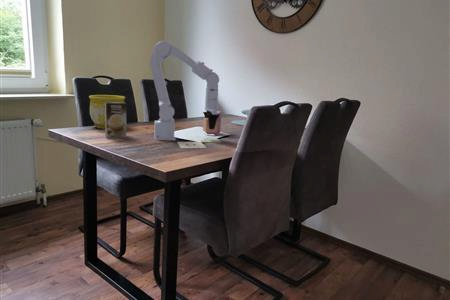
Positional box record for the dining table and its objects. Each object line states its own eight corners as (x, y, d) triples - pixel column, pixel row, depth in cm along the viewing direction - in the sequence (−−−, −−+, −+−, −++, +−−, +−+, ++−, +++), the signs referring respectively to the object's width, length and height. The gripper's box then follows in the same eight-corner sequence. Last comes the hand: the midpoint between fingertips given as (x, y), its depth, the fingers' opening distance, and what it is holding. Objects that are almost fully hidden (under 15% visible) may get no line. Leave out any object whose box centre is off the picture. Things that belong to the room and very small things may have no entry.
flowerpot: (131, 128, 183) (131, 97, 179) (99, 131, 170) (98, 98, 166) (115, 123, 195) (115, 94, 191) (84, 125, 182) (83, 95, 179)
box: (216, 136, 175) (217, 113, 172) (205, 135, 176) (206, 112, 173) (220, 132, 185) (221, 111, 182) (210, 132, 186) (211, 110, 183)
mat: (202, 143, 156) (202, 141, 156) (198, 139, 165) (198, 138, 165) (221, 142, 159) (221, 141, 159) (216, 139, 167) (216, 138, 167)
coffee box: (106, 138, 155) (105, 102, 151) (104, 135, 161) (104, 101, 157) (126, 137, 159) (126, 103, 155) (125, 135, 164) (124, 101, 161)
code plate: (180, 148, 142) (180, 147, 142) (177, 142, 154) (177, 141, 154) (206, 148, 145) (206, 147, 145) (201, 142, 157) (201, 141, 157)
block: (205, 132, 157) (206, 119, 156) (203, 130, 162) (203, 117, 161) (217, 132, 159) (217, 119, 158) (214, 130, 164) (214, 118, 163)
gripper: (224, 100, 152) (222, 130, 155) (216, 97, 165) (214, 125, 168) (208, 100, 150) (207, 130, 153) (202, 97, 163) (200, 125, 166)
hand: (210, 127), depth 160 cm, fingers closed on block, 6 cm apart
